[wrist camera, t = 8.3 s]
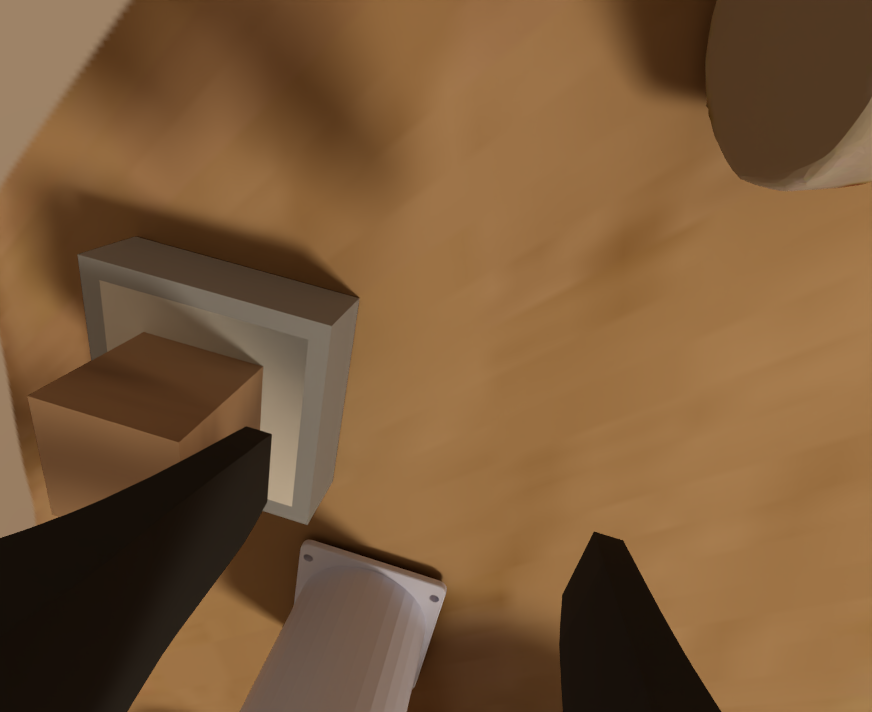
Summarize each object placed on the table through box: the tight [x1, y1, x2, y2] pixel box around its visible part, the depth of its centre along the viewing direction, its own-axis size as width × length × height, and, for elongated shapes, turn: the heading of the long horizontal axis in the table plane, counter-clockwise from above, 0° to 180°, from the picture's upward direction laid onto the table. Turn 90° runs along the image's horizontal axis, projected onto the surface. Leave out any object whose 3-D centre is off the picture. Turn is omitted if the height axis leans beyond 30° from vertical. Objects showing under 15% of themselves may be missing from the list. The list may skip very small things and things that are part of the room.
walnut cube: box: [27, 332, 263, 517], centre depth 18 cm, size 5×5×5 cm
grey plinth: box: [77, 236, 359, 525], centre depth 22 cm, size 10×10×3 cm
